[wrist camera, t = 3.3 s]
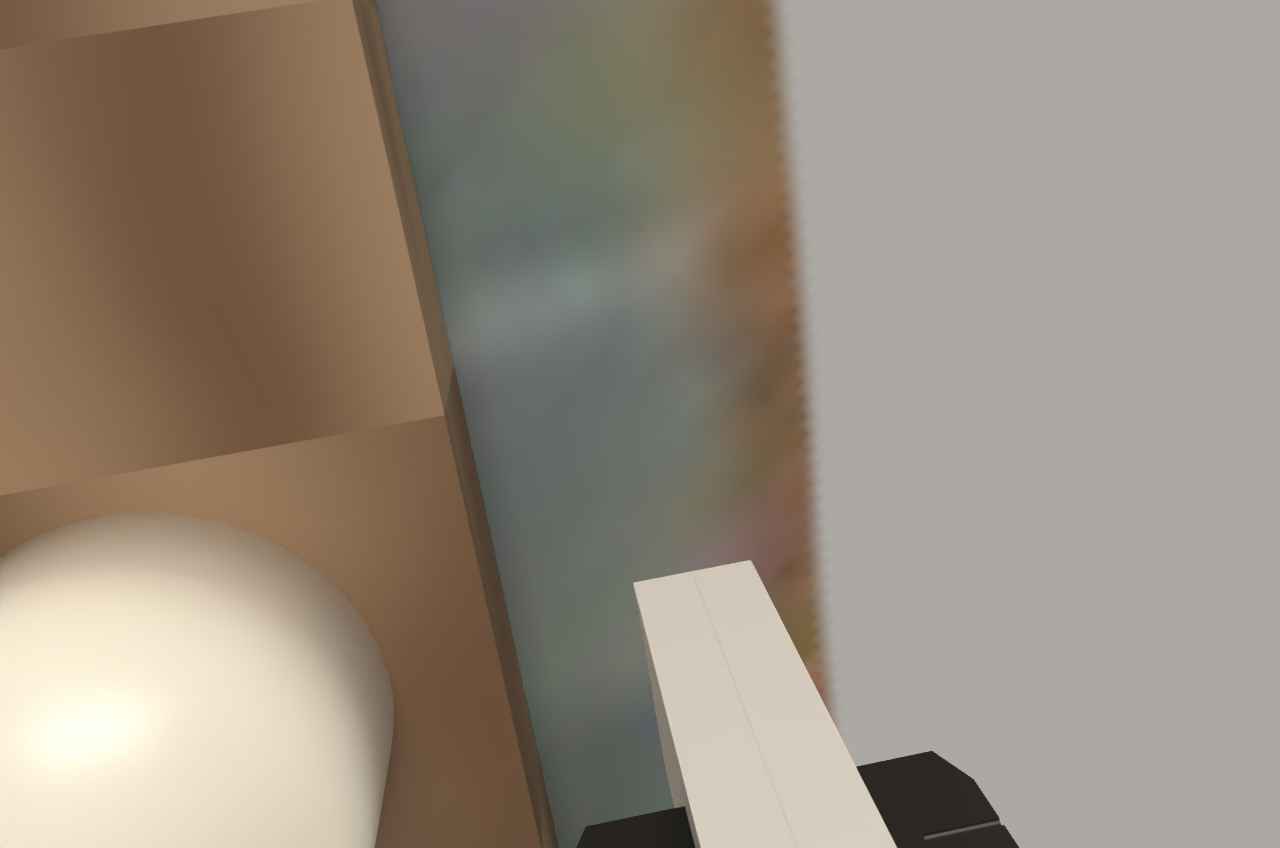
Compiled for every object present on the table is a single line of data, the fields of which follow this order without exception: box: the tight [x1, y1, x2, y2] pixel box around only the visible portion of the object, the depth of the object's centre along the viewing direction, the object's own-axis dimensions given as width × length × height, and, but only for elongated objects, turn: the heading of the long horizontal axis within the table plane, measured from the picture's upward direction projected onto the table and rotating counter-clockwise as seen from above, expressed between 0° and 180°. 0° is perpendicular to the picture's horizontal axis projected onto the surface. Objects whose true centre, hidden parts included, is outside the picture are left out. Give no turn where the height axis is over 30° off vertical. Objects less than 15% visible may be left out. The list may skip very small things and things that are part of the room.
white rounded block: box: [0, 513, 394, 848], centre depth 12 cm, size 6×6×4 cm
